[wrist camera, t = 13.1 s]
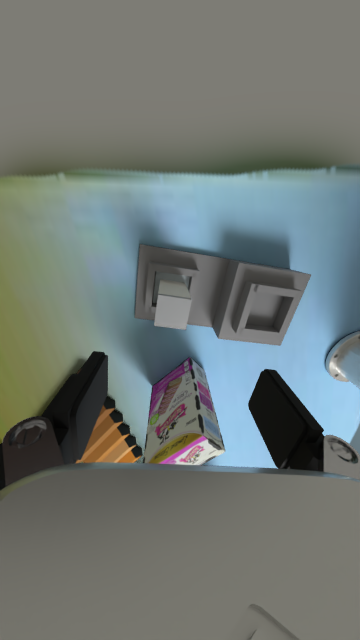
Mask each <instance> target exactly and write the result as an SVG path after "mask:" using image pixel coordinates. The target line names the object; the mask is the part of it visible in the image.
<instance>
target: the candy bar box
mask: <svg viewBox="0 0 360 640" xmlns="http://www.w3.org/2000/svg"><path fill="white" fill-rule="evenodd" d="M224 452H225V448H224V444H223V440H222V436H221V433H220V429H219V425H218V420H217V417H216V413H215V409H214V405H213V402H212V398H211V394H210V390H209V386H208V382H207V379H206V375H205V371H204V369H203V368H201V367H200V366H199V365H198V364H197V363H196V362H195V361H194V360H193V359H192V358H190V357H189V358H188V359H187V360H186V361H184V362H183V363H182V364H181V365H179V366H178V367H177V368H176V369H174V370H173V371H172V372H170V373H169V374H168V375H167V376H165V377H164V378H163V379H162V380H160V381H159V382H158V383H156V384H155V385H154V386H152V393H151V401H150V410H149V419H148V427H147V434H146V443H145V452H144V460H143V463H153V464H182V465H202V464H204V463H206V462H208V461H209V460H211V459H213V458H215V457H217V456H218V455H220V454H222V453H224Z"/></svg>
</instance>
